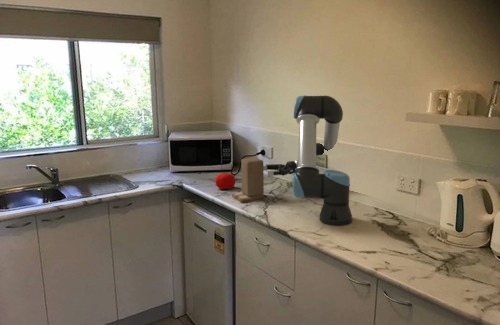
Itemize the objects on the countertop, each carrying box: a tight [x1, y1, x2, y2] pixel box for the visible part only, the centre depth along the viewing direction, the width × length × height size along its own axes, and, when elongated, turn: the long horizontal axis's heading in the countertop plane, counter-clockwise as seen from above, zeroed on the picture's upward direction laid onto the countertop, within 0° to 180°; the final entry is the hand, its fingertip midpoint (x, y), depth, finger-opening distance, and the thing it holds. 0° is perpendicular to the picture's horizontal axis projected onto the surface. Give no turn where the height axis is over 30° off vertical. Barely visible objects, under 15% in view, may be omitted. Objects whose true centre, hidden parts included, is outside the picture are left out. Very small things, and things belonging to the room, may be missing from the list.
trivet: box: [231, 191, 266, 204], centre depth 220 cm, size 14×14×2 cm
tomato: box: [214, 172, 236, 190], centre depth 239 cm, size 11×13×10 cm
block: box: [240, 157, 265, 197], centre depth 218 cm, size 10×10×20 cm
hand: (262, 171), depth 220 cm, fingers open, 13 cm apart
